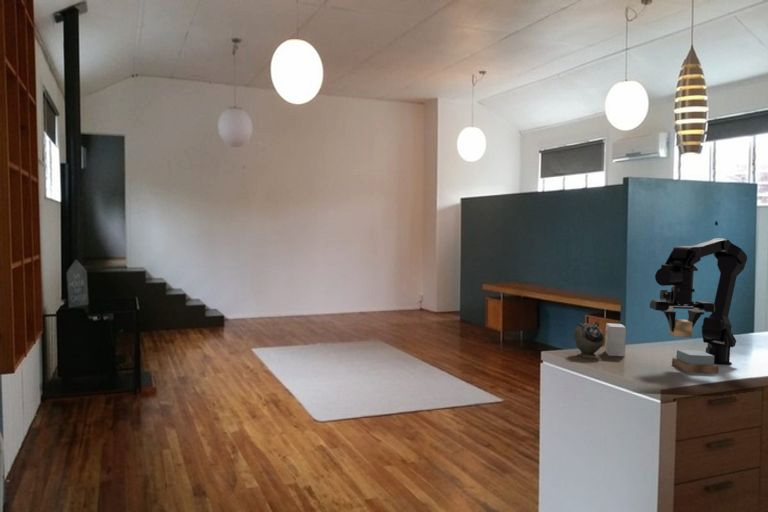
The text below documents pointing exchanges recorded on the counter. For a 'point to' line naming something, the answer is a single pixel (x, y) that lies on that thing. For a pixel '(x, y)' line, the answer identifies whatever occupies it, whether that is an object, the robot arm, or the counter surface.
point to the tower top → (695, 357)
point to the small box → (615, 339)
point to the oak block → (682, 328)
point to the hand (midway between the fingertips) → (680, 331)
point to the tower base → (695, 367)
